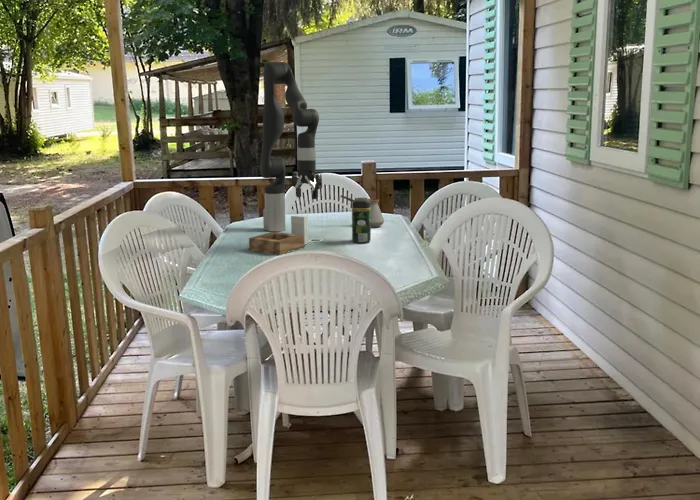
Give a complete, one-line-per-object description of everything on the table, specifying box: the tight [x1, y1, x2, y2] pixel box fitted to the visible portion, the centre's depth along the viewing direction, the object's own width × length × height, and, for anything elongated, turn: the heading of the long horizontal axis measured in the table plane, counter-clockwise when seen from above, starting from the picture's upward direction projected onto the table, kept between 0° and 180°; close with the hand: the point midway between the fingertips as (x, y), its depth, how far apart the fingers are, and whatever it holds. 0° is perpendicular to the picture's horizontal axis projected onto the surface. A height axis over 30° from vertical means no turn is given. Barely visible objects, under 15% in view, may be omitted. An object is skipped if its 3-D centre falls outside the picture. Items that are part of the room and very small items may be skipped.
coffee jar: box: [351, 197, 372, 244], centre depth 289 cm, size 10×8×19 cm
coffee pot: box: [338, 194, 385, 229], centre depth 323 cm, size 21×12×15 cm, turn 91°
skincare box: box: [290, 214, 309, 246], centre depth 285 cm, size 6×4×12 cm
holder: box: [247, 231, 306, 256], centre depth 276 cm, size 16×16×5 cm
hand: (306, 198), depth 283 cm, fingers open, 8 cm apart
